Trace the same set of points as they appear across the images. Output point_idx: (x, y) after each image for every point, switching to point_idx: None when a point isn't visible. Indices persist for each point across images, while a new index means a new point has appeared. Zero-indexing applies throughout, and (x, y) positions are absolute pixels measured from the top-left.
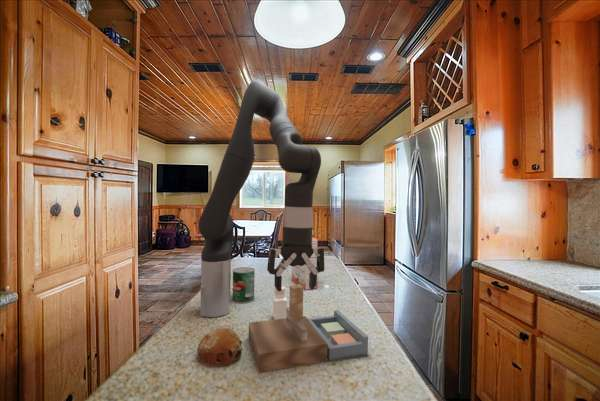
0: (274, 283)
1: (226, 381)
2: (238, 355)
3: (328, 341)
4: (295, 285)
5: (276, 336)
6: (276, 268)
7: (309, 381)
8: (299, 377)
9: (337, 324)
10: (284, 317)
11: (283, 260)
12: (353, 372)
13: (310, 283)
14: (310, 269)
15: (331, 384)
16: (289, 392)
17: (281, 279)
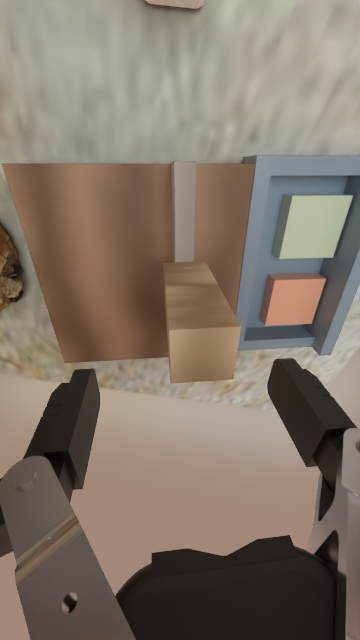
0: (47, 404)
1: (14, 349)
2: (17, 298)
3: (244, 324)
4: (204, 340)
5: (112, 298)
6: (9, 526)
7: (165, 372)
8: (152, 362)
9: (339, 216)
10: (192, 6)
11: (62, 636)
12: (246, 366)
13: (282, 394)
14: (314, 517)
15: (197, 383)
16: (127, 387)
17: (85, 467)
